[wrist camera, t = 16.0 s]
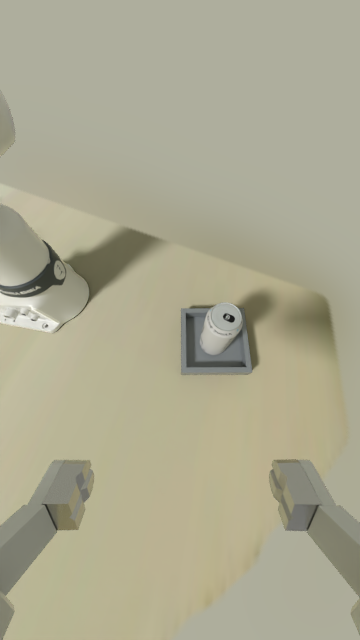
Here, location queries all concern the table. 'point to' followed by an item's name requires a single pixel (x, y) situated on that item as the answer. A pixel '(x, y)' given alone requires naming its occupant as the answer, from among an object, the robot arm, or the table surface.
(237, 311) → the energy drink can
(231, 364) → the gray tray
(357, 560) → the robot arm
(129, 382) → the table surface
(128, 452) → the table surface
